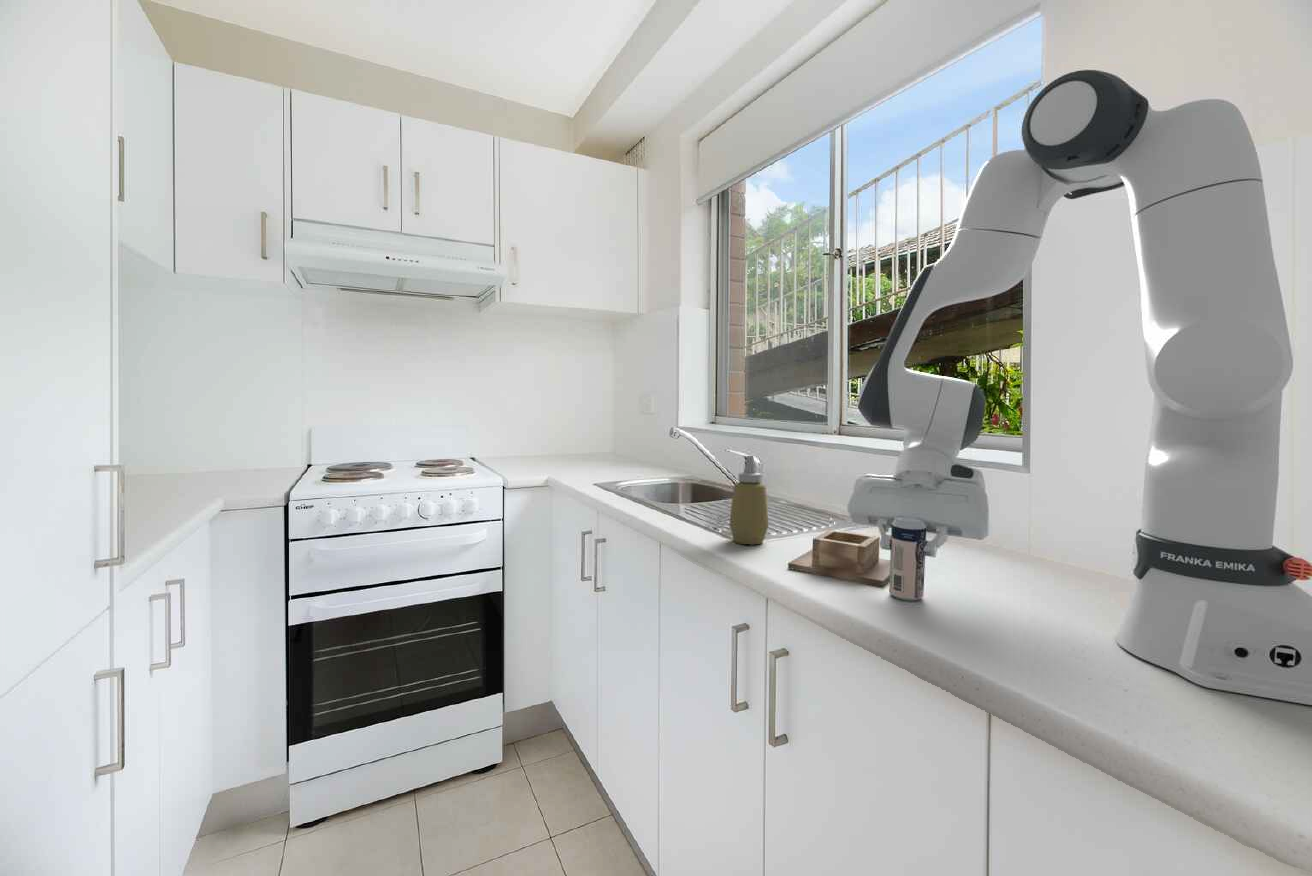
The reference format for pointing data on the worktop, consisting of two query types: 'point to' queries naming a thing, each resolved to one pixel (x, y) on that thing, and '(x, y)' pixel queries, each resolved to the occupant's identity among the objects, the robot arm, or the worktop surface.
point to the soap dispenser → (749, 507)
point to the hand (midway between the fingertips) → (906, 551)
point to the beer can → (907, 558)
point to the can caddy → (845, 558)
